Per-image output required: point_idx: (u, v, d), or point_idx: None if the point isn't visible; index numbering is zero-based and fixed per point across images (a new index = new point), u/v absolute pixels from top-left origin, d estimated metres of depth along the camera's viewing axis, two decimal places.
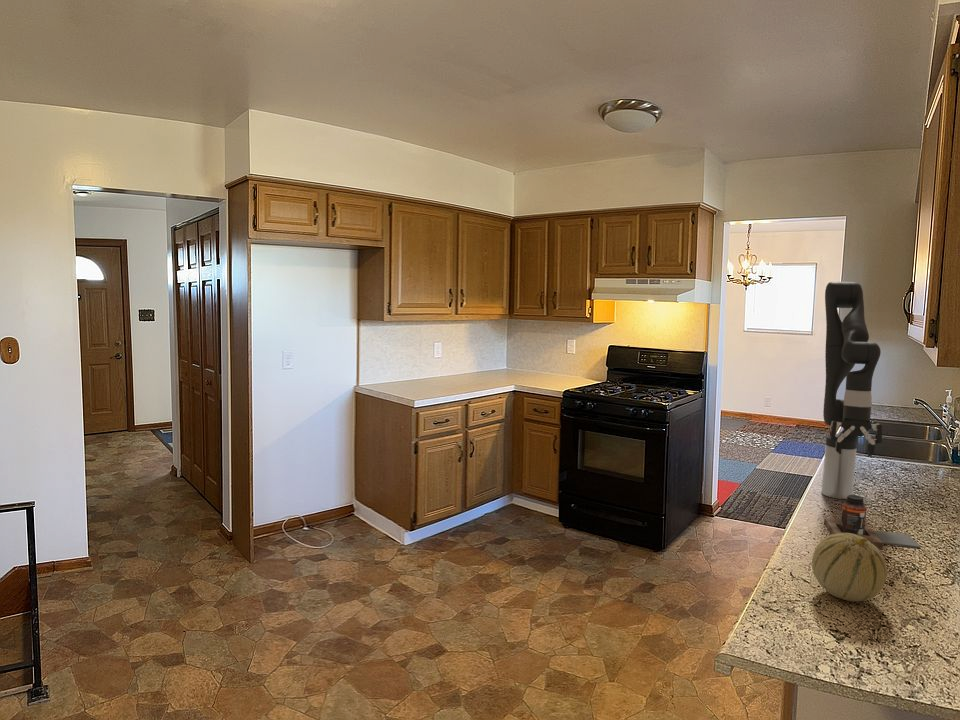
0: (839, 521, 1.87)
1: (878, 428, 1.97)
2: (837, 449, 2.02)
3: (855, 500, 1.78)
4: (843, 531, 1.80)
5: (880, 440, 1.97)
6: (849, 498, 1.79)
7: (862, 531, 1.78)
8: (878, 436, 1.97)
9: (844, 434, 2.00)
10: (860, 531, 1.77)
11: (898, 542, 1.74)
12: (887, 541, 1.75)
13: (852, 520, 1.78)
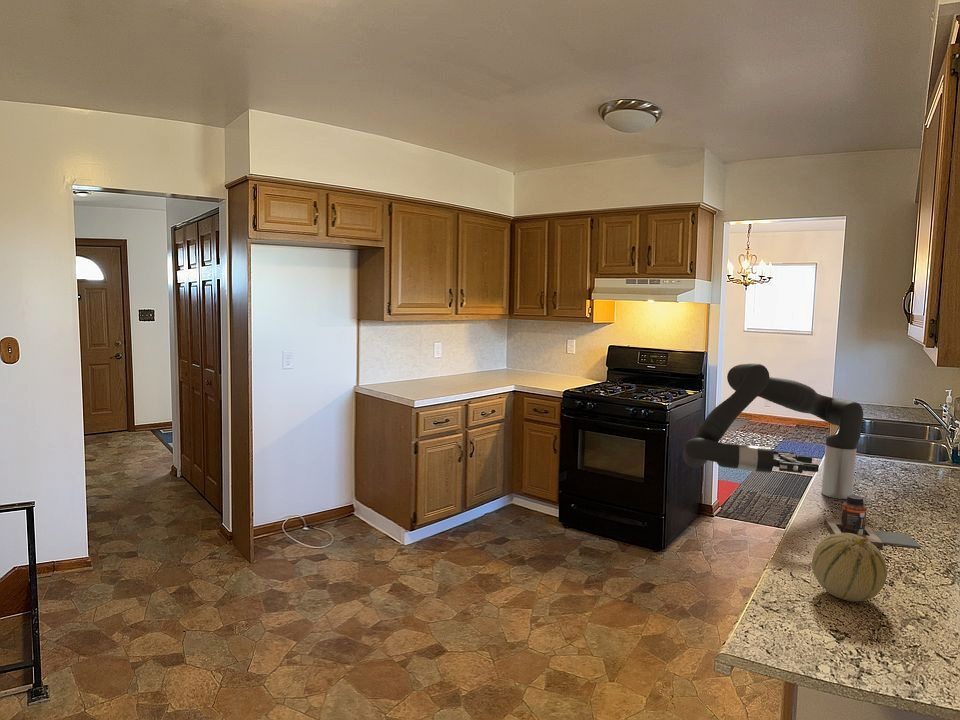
0: (839, 521, 1.87)
1: None
2: None
3: (855, 500, 1.78)
4: (843, 531, 1.80)
5: (798, 472, 1.77)
6: (849, 498, 1.79)
7: (862, 531, 1.78)
8: None
9: None
10: (860, 531, 1.77)
11: (898, 542, 1.74)
12: (887, 541, 1.75)
13: (852, 520, 1.78)
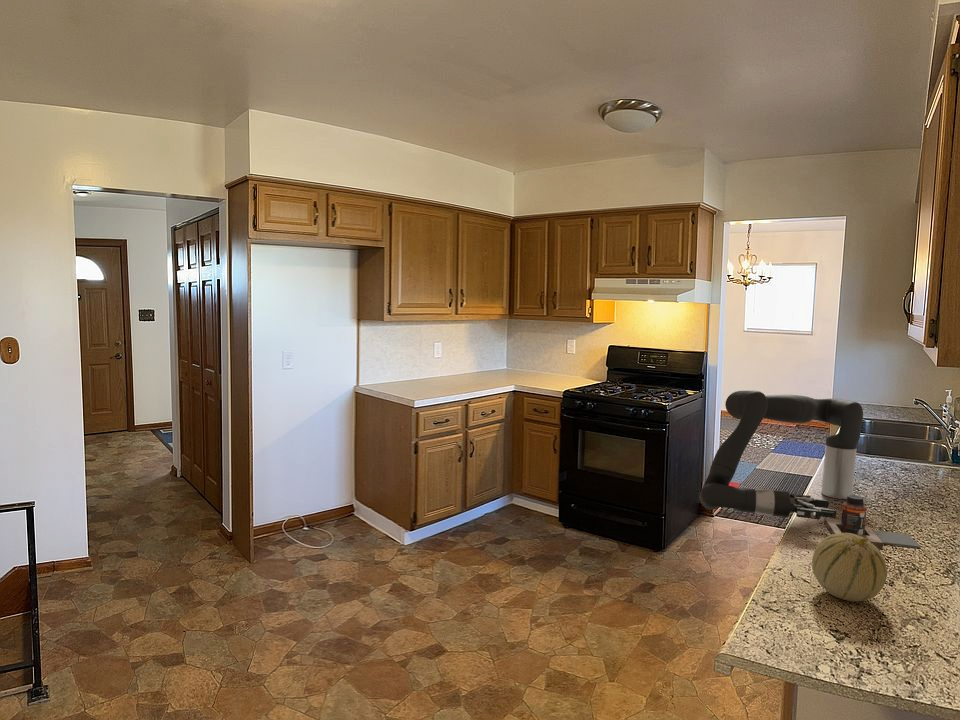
0: (839, 521, 1.87)
1: None
2: None
3: (855, 500, 1.78)
4: (843, 531, 1.80)
5: None
6: (849, 498, 1.79)
7: (862, 531, 1.78)
8: None
9: None
10: (860, 531, 1.77)
11: (898, 542, 1.74)
12: (887, 541, 1.75)
13: (852, 520, 1.78)
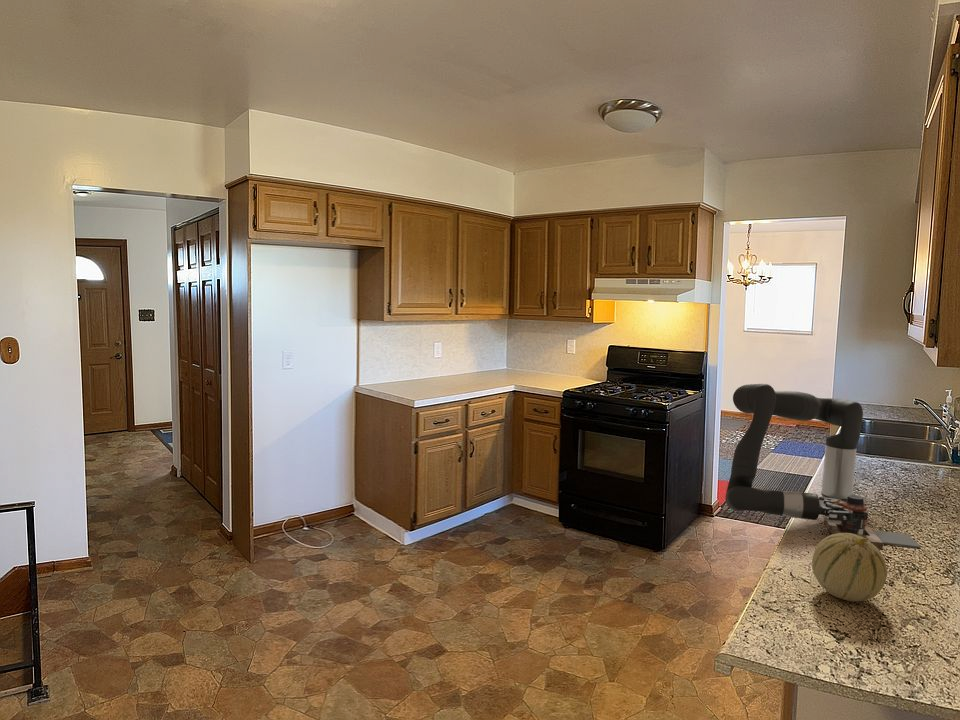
0: (839, 521, 1.87)
1: None
2: None
3: (856, 500, 1.77)
4: (843, 531, 1.80)
5: (847, 520, 1.75)
6: (849, 498, 1.79)
7: (862, 531, 1.78)
8: None
9: None
10: (860, 531, 1.77)
11: (898, 542, 1.74)
12: (887, 541, 1.75)
13: (852, 520, 1.77)
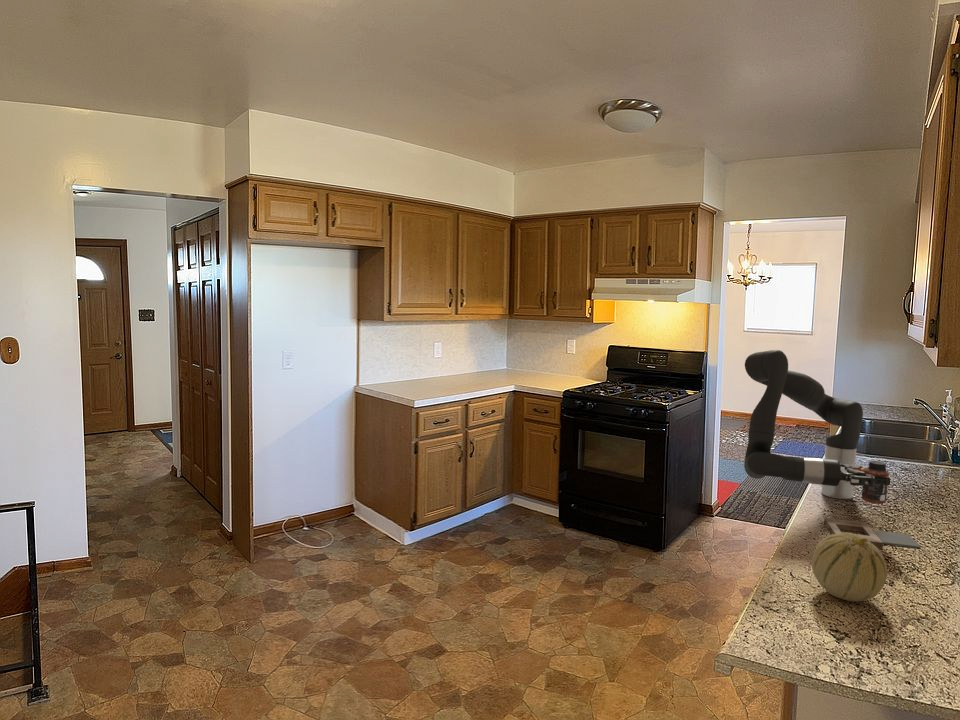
0: (839, 521, 1.87)
1: None
2: None
3: (878, 466, 1.75)
4: (864, 497, 1.77)
5: (869, 485, 1.73)
6: (871, 463, 1.76)
7: (884, 497, 1.75)
8: None
9: None
10: (882, 497, 1.75)
11: (898, 542, 1.74)
12: (887, 541, 1.75)
13: (874, 485, 1.75)
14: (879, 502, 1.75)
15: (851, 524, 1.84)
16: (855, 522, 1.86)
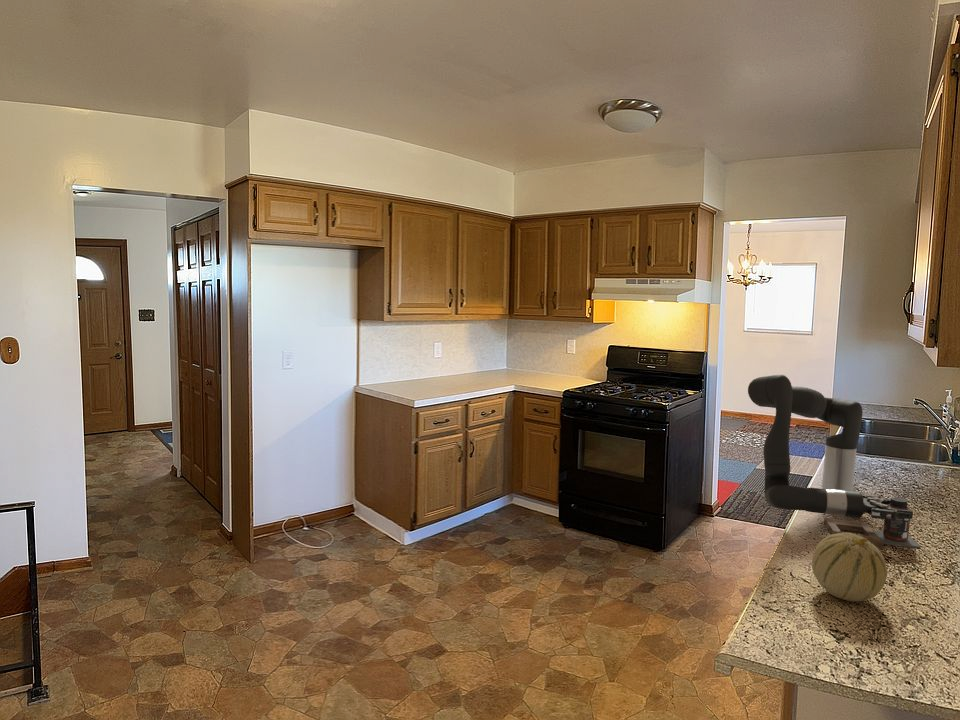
0: (839, 521, 1.87)
1: None
2: None
3: (899, 503, 1.75)
4: (886, 534, 1.77)
5: (892, 519, 1.71)
6: (893, 501, 1.76)
7: (906, 534, 1.75)
8: None
9: None
10: (904, 535, 1.74)
11: (898, 542, 1.74)
12: (887, 541, 1.75)
13: (896, 523, 1.74)
14: (901, 540, 1.74)
15: (851, 524, 1.84)
16: (855, 522, 1.86)
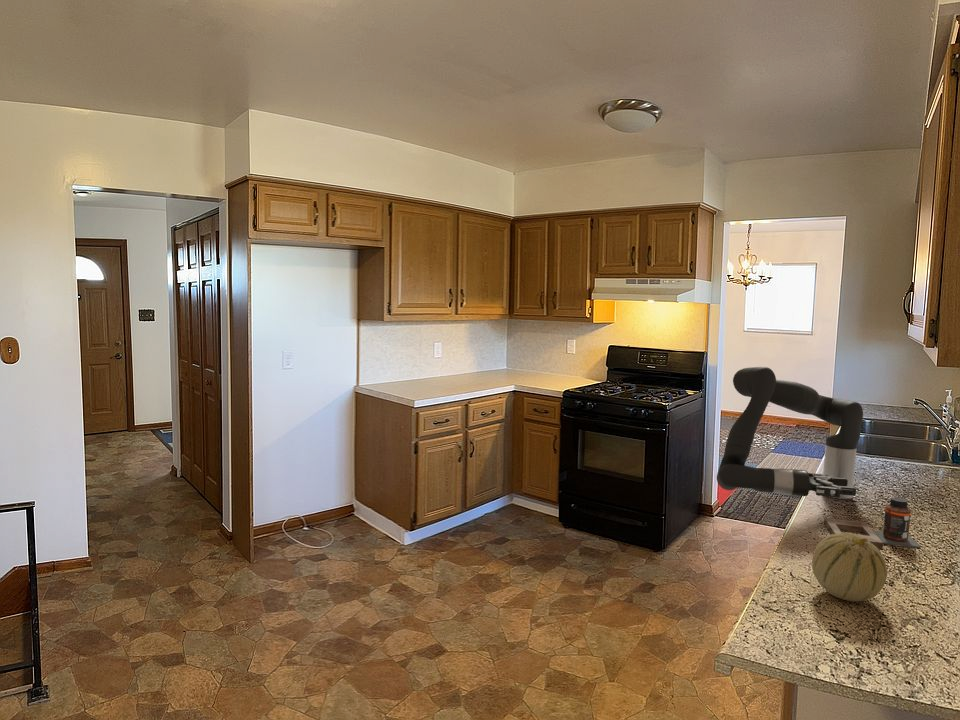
0: (839, 521, 1.87)
1: None
2: None
3: (900, 503, 1.75)
4: (886, 534, 1.77)
5: (836, 496, 1.76)
6: (893, 501, 1.76)
7: (906, 534, 1.75)
8: None
9: None
10: (904, 535, 1.74)
11: (898, 542, 1.74)
12: (887, 541, 1.75)
13: (896, 523, 1.74)
14: (901, 540, 1.74)
15: (851, 524, 1.84)
16: (855, 522, 1.86)
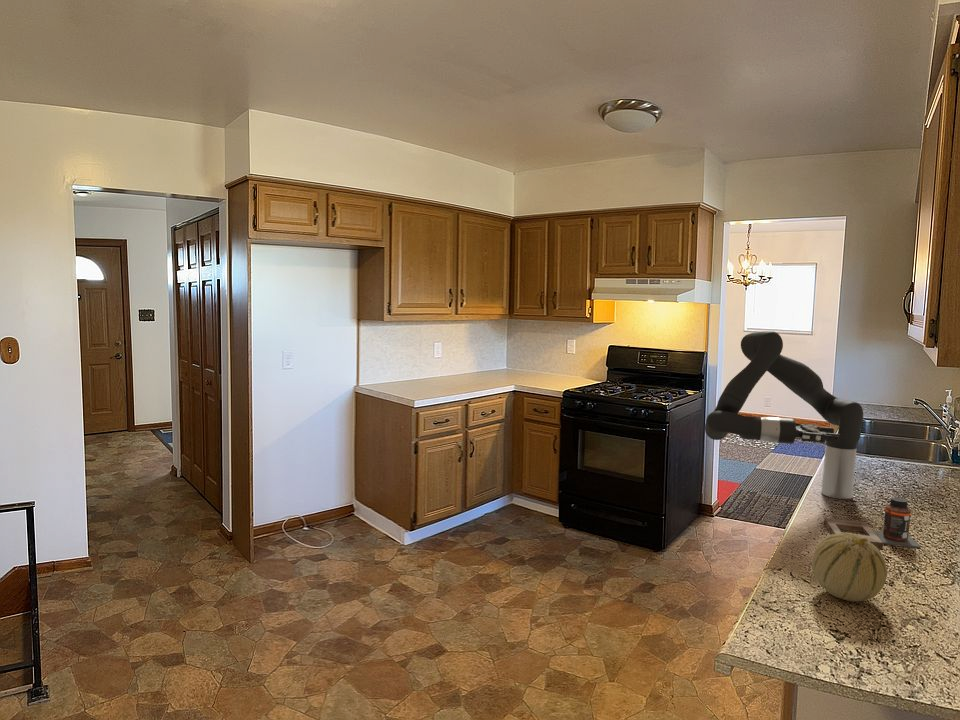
0: (839, 521, 1.87)
1: None
2: None
3: (900, 503, 1.75)
4: (886, 534, 1.77)
5: None
6: (893, 501, 1.76)
7: (906, 534, 1.75)
8: None
9: None
10: (904, 535, 1.74)
11: (898, 542, 1.74)
12: (887, 541, 1.75)
13: (896, 523, 1.74)
14: (901, 540, 1.74)
15: (851, 524, 1.84)
16: (855, 522, 1.86)
